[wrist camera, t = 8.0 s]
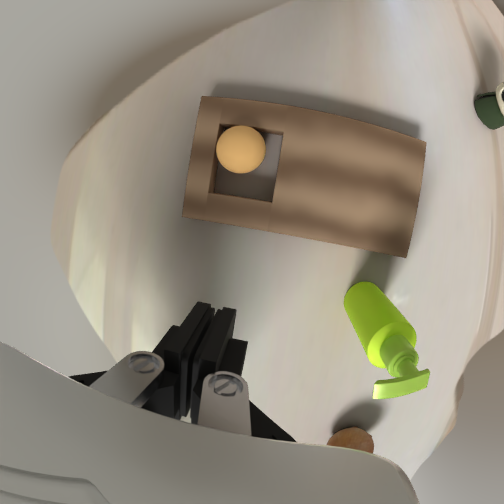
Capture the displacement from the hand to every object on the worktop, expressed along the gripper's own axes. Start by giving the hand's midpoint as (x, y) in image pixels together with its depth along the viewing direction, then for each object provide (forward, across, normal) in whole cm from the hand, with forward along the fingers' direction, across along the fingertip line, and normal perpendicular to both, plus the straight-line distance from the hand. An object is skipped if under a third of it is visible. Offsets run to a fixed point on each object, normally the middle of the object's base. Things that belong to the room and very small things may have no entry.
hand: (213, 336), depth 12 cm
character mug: (+27, -34, -28) cm, 52 cm away
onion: (+27, -24, +36) cm, 51 cm away
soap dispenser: (+27, -16, +7) cm, 32 cm away
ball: (+24, +4, -10) cm, 27 cm away
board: (+27, -5, -9) cm, 29 cm away
